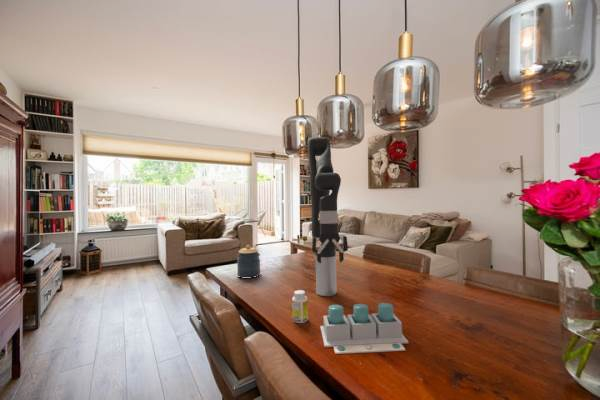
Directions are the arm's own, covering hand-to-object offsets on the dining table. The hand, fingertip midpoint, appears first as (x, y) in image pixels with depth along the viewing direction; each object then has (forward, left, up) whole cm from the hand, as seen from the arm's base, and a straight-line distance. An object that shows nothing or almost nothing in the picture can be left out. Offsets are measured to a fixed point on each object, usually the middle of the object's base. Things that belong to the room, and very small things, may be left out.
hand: (330, 262), depth 109 cm
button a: (+24, -2, -15) cm, 28 cm away
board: (+24, +6, -18) cm, 30 cm away
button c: (+24, +14, -15) cm, 31 cm away
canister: (-46, -40, -18) cm, 64 cm away
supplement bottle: (+12, -13, -18) cm, 25 cm away
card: (+32, +6, -18) cm, 37 cm away
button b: (+24, +6, -15) cm, 28 cm away
